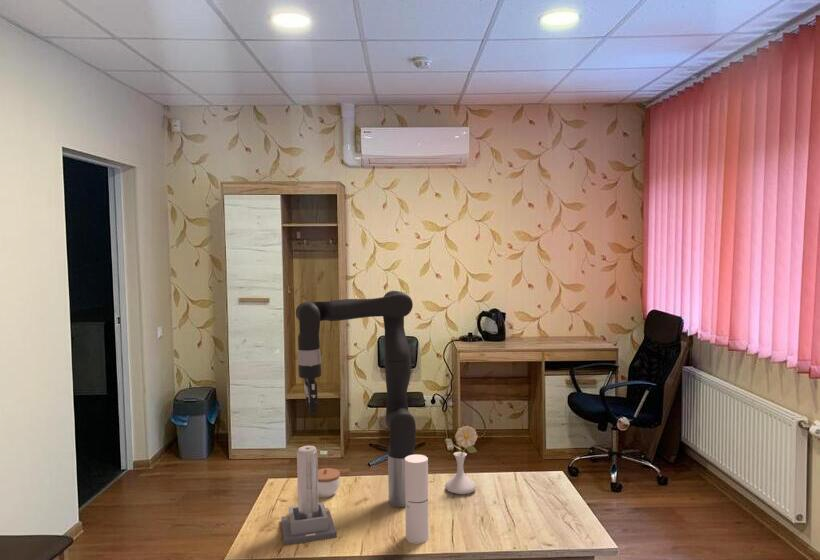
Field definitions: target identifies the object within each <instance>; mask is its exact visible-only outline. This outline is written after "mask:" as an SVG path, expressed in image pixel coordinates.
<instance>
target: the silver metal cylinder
mask: <svg viewBox="0 0 820 560" xmlns="http://www.w3.org/2000/svg"><path fill="white" fill-rule="evenodd" d="M318 463H319V462H318V449H317V447H316V445H303V446H301V447H298V450H297V451H296V468H297V473H296V474H297V506H298V520H302V519H309V518H316V517H319V506H318V503H319V496H318V470H319V467H318Z"/></svg>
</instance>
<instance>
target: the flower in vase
mask: <svg viewBox="0 0 820 560" xmlns="http://www.w3.org/2000/svg"><path fill="white" fill-rule="evenodd" d="M478 437H479V435H478V433H477V432H476V429H475V428H473V427H471V426H468V425H465V426H461V427H459V428H458V429H457V431H456V433H455V436H454V438H455V441H456V444H457V445H458V446H460V447H462V448H464V449H462V448H460V447H458V446H456V445H455V444H453V446H454V447H455V448H456V449H459V450H460V451H456V452H454V453H453V456H454V457H455V460H456V465H457V467H456V473H455V474H454V475H453V476H452V477H450V478H449V479H448V480H447V482H445V485H444V487H445V489H446V490H447V491H448V492H450V493H453V494H458V495H465V494H470V493H473V491H475V490H476V488H477V485H476V483H475V482H474V481H473V479H471V478H470V477H469V476H467V475H466V474H465V471H464V465H465V464H464V462H465V459H466V456H467V455H468V453H469V454H473V453H477V452H478V451H477V449H476V447H474V445H475V444H476V441H477V439H478ZM465 450H466V451H467V452H468V453H466V452H465Z"/></svg>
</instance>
